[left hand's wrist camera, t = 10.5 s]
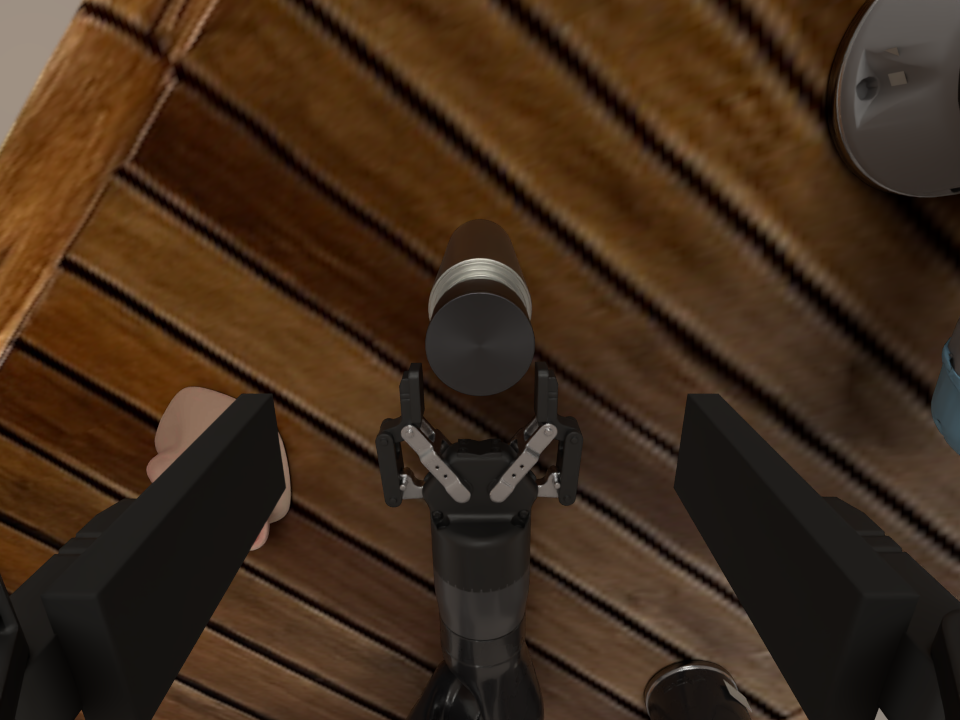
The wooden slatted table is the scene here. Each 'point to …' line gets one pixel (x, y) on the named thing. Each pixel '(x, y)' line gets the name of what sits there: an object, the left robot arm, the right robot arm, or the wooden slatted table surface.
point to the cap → (480, 338)
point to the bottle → (480, 261)
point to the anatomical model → (186, 424)
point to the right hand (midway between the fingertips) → (478, 366)
